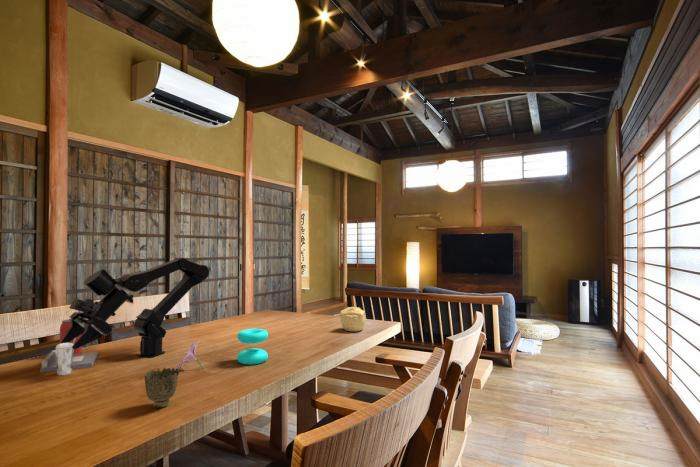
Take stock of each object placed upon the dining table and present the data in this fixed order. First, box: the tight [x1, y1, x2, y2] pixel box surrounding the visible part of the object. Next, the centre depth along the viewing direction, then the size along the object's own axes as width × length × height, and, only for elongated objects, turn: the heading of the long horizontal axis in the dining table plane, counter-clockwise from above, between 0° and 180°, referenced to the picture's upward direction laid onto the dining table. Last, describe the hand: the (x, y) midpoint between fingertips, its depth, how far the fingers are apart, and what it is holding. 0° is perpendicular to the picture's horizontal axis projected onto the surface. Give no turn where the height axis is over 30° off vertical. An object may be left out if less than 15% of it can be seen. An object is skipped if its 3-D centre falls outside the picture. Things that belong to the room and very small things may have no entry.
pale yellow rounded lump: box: [339, 306, 367, 332], centre depth 180 cm, size 12×12×11 cm
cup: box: [143, 367, 180, 409], centre depth 94 cm, size 8×7×8 cm
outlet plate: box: [39, 349, 98, 374], centre depth 127 cm, size 13×15×3 cm
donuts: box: [236, 328, 269, 366], centre depth 131 cm, size 10×10×10 cm
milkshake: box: [55, 338, 76, 376], centre depth 118 cm, size 4×5×10 cm
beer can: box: [59, 318, 83, 354], centre depth 138 cm, size 7×7×12 cm
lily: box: [174, 338, 204, 370], centre depth 122 cm, size 12×12×10 cm
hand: (67, 346), depth 118 cm, fingers open, 9 cm apart
